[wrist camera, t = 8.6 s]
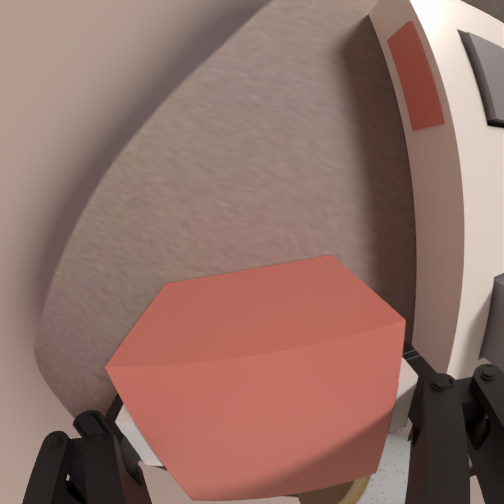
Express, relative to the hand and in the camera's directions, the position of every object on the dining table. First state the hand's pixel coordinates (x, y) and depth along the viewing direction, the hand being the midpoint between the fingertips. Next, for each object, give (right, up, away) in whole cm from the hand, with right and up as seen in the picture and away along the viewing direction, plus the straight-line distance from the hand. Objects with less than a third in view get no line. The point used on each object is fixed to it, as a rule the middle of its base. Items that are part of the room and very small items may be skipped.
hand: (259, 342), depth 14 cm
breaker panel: (+13, +8, -1) cm, 15 cm away
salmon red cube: (0, 0, 0) cm, 0 cm away
